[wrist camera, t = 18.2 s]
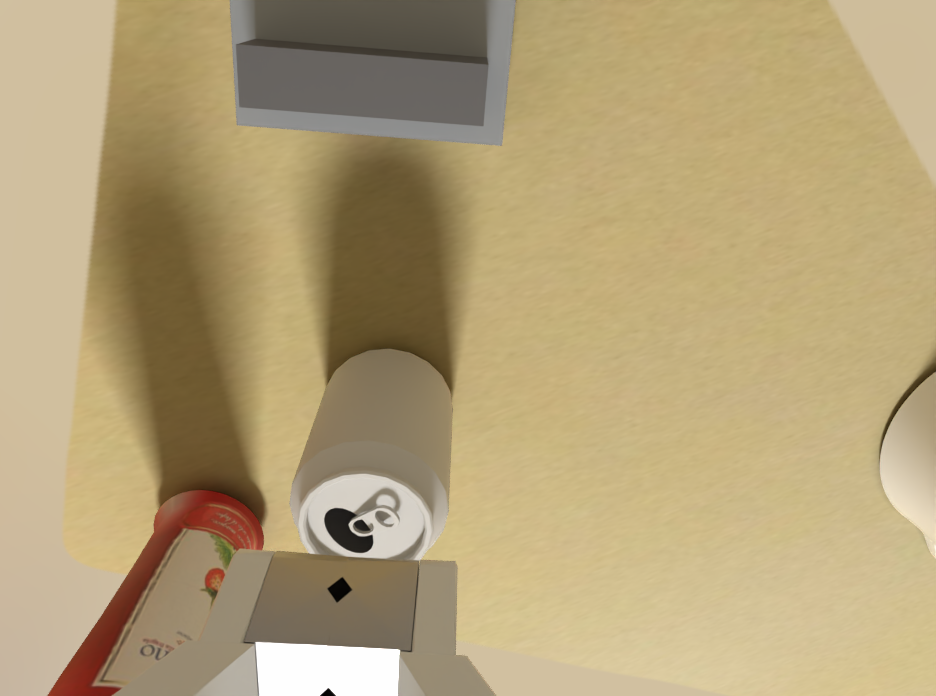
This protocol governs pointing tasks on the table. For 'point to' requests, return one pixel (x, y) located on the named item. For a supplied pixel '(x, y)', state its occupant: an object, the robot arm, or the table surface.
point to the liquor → (163, 592)
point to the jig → (374, 67)
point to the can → (376, 460)
